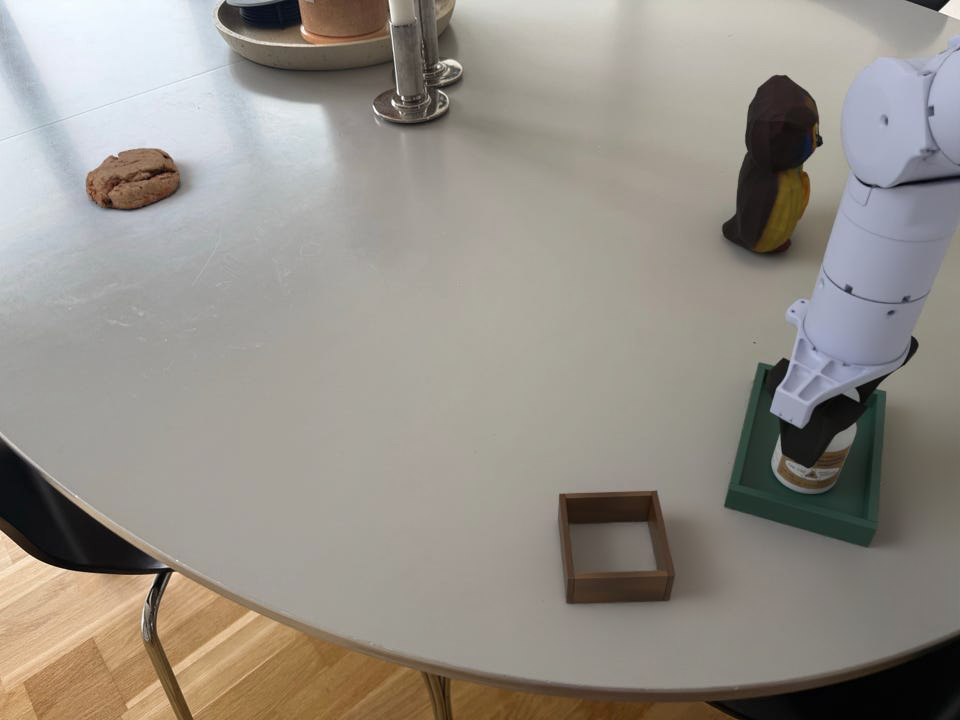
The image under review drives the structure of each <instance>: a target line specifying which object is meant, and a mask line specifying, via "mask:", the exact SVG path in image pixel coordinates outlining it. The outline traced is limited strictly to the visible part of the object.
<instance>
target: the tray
mask: <svg viewBox="0 0 960 720" xmlns="http://www.w3.org/2000/svg"><path fill="white" fill-rule="evenodd" d="M774 366H775V365H773V364H770V363H769V364H768V363H765V362H761V361H759V362H758V363H757V367H756V371H755V374H754V379H753V382H752V387H751V390H750V394H749V399H748V404H747V407H746V412H745V416H744V420H743V424H742V428H741V433H740V437H739V440H738V445H737V449H736V453H735V457H734V462H733V466H732V470H731V475H730V478H729V483H728V487H727V492H726V496H725V499H724V504H723V507H724V508H727V509H730V510H734V511H738V512H742V513H745V514H748V515H752V516H756V517H759V518H763V519H765V520H769V521H773V522H776V523H780V524H783V525H787V526H791V527H794V528H798V529H801V530H805V531H808V532H812V533H815V534H819V535H822V536H826V537H829V538H833V539H837V540H839V541H843V542H846V543H851V544H854V545H858V546H861V547H864V548H869V546H870V544H871V542H872V540H873V539H874V537H875V534H876V532H877V531H878V521H879V508H880V507H879V505H880V492H881V480H882V479H881V478H882V465H883V464H882V463H883V447H884V435H885V433H884V432H885V421H886V420H885V419H886V408H887V407H886V405H887V390H884V389H883V390H882V389H878V388H876V390H875V391H874V392H873V394H872V395H871V397H870V398H869V399H868V401H867V402H866V404H865V405H866V406H868V407H869V408H868V409H867V410H866V411H865V412H864V414H863V415H862V416H861V417H860V418H859V419H858V420H857V421H856V427H857V429H856V435H855V437H854V440H853V443H852V445H851V447H850V450H849V452H848V455H847V457H846V459H845V462H844V464H843V467H842V469H841V471H840V474H839V476H838V478H837V480H836V483H835V484H834V486H833V487H832V488H830V489H829V490H827V491H825V492H823V493H819V494H804V493H800V492H796V491H793V490H791V489H790V488H788V487H786V486H785V485H784V484H782V483H781V482H780V481H779V480H778V479H777V477H776V476H775V474H774V472H773V470H772V465H771V461H772V457H773V454H774V450H775V447H776V444H777V441H778V438H779V435H780V424H779V417H778V416H777V415H775V414H773V413H771V412H770V409H771V405H772V402H773V400H772V398H771V396H770V394H769V393H768V391H767V389H766V380H767V377H768V373H769V371H770V370H771V369H772V368H773V367H774Z"/></svg>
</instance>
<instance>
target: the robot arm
mask: <svg viewBox="0 0 960 720" xmlns="http://www.w3.org/2000/svg"><path fill="white" fill-rule="evenodd" d="M840 115H841V116H840V139H841V140H840V141H841V147H842V151H843V154H844V158H845V161H846V163H847V165H848V167H849V168H850V169H849V172H848V176H847V179H846V182H845V186H844V189H843V193H842V195H841V199H840V203H839V206H838V209H837V212H836V216H835V219H834V222H833V225H832V229H831V231H830V235H829V238H828V241H827V245H826V248H825V252H824V255H823V258H822V262H821V265H820V268H819V272H818V274H817V278H816V281H815V285H814V288H813V292H812V295H811V298H810V300H809V299H806V298H799V299H796V300H795V302H793V303H792V304H791V305H790V306H789V307H788V308H787V309H786V312H785V315H784V320H785V321H786V322H787V323H788V324H790V325H792V326H794V327H795V328H796V330H797V332H796V336H795V340H794V344H793V348H792V352H791V355H790V359H788V358H786V357H782V358H781V359H779V361H778V362H777V363H776V364H775V365H774V367H773V368H772V369H771V370H770V371H769V373H768V377H767V380H766V389H767V391H768V393H769V394H770V396H771V398H772V400H773V402H772V405H771V409H770V412H771V413H773V414H775V415H777V416H778V417H779V424H780V442H781V452H782V454H783V455H784V456H786V457H788V458H790V459H792V460H793V461H795V462H797V463H799V464H800V465H802V466H804V467H806V468H811V467H812V466H813V465H814V464H815V463H816V462H817V461H818V459H819V458H820V457H821V456H822V455H823V453H824V452H825V450H826V449H827V447H828V446H829V444H830V443H831V441H832V440H833V438H834V437H835V435H837V434H838V433H840V432H842V431H844V430H846V429H848V428H849V427H850V426H852V425H853V424H854V423H855V422H856V421H857V420H858V419H859V418H860V417H861V416H862V415H863V414H864V412H865V411H866V410H867V409H868V408H869V407H868V406H866V405H865V404H866V402H867V401H868V399H869V398H870V397H871V395H872V394H873V392H874V391H875V390H876V389H878V387H879V386H880V384H882V382H883V381H884V380H886V379H887V378H888V377H889V376H890V375H892V374H893V373H894V372H896V371H898V370H899V369H901V368H902V367H905V366H906V365H907V364H908V362H910V360H911V359H912V358H913V356H915V354H916V353H917V351H918V349H919V347H920V345H919V341H918V340H917V338H916V337H915V336H913V333H914V330H915V328H916V326H917V323H918V320H919V318H920V316H921V314H922V312H923V309H924V307H925V305H926V302H927V300H928V298H929V295H930V293H931V290H932V287H933V285H934V283H935V280H936V278H937V276H938V273H939V271H940V269H941V266H942V264H943V262H944V259H945V257H946V255H947V252H948V250H949V248H950V245H951V243H952V241H953V238H954V236H955V233H956V231H957V229H958V227H959V225H960V33H958V34H954V35H952V36H951V37H950V38H949V39H948V42H947V49H945V50H943V51H941V52H940V53H938V54H935V55H927V56H918V57H910V58H909V57H908V58H901V57H896V56H879V57H876V58H875V59H874V60H873V62H871V64H869V65H867V66H866V67H864V68H863V69H861V70H860V71H859V72H858V73H857V74H856V76H854V79H853V80H852V81H851V83H850V84H849V87H848V89H847V91H846V94H845V97H844V100H843V104H842V109H841V113H840ZM853 388H855V389H856V390H857V392H858V394H859V402H858V401H856V400H854V399H852V398H850V397H848V396H846V395H844V394H842V393H843V392H846V391H848V390H850V389H853Z"/></svg>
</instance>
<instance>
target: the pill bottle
mask: <svg viewBox="0 0 960 720" xmlns="http://www.w3.org/2000/svg"><path fill="white" fill-rule="evenodd" d="M842 394H844V395H846V396H848V397H850V398H852V399H854V400H856V401H858V402H859V394H858V392H857V390H856V389H855V388H853V389H850V390H848V391H846V392H843V393H842ZM856 429H857V427H856V422H855V423H854V424H853V425H852V426H850V427H849V428H848V429H846V430H844V431H842V432H840V433H838V434H837V435H835V437H834V438H833V440H832V441H831V443H830V444H829V446H828V447H827V449H826V450H825V452H824V453H823V455H822V456H821V457H820V458H819V459H818V461H817V462H816V463H815V464H814V465H813V466H812V467H811V468H806V467H804V466H802V465H800V464H799V463H797V462H795V461H793V460H792V459H790V458H788V457H786V456H784V455H783V454H782V452H781V442H780V435H779V438H778V441H777V444H776V447H775V450H774V454H773V457H772V461H771V465H772V470H773V472H774V474H775V476H776V477H777V479H778V480H779V481H780V482H781V483H782V484H784V485H785V486H786V487H788V488H790V489H791V490H793V491H796V492H800V493H804V494H819V493H823V492H825V491H827V490H829V489H830V488H832V487H833V486H834V484H835V483H836V480H837V478H838V476H839V474H840V471H841V469H842V467H843V464H844V462H845V459H846V457H847V455H848V452H849V450H850V447H851V445H852V443H853V440H854V437H855V435H856Z"/></svg>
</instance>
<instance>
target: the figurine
mask: <svg viewBox="0 0 960 720" xmlns="http://www.w3.org/2000/svg"><path fill="white" fill-rule="evenodd" d="M747 109H748V110H747V113H746V128H745V134H744V144H745V148H746V153H745V154H744V157H743V159H742V163H741V166H740V169H739V171H738V178H737V187H736V197H735V198H736V199H735V205H736V206H735V214H733V215H732V216H731V218H729V219H728V220H727V221H725V222H724V223H722V226H721V232H722V234H723V238H725V239H726V240H727V241H730V242H731V243H733V244H736V245H738V246H741V247H742V248H744V249H746V250H749V251H752V252H756V253H782V252H786V251H787V250H789V248H791V246H792V241H791V239H790V238H791V236H792V235H793V234H794V232H795V229H796V227H797V225H798V222H799V221H800V220H801V219H802V218H803V216H804V213H805V211H806V209H807V207H808V205H809V202H810V198H811V197H810V196H811V180H810V179H811V178H810V176H809V174H808V172H807V171H804V163H805V162H807V160H808V159H810V158H811V157H812V155H814V153H815V151H816V149H817V148H820V147H822V146H823V144H824V140H823V136H821V135H820V114H819V110H818V106H817V102H816V100H815V99H814V98H813V96H812V95H811V94H810V93H809V91H808V90H806V89H805V88H804V87H802V86H801V85H799V84H798V83H796V82H795V80H793V79H792V78H791V77H789V76H788V75H787V74H774V75H772V76H771V77H769V78H768V79H767V80H766V81H764V82H763V83H762V84H761V85H759V86H758V88H757V89H756V92H755V95H754V97H753V98H752V99H751V102H750V103H749V104H748V108H747Z"/></svg>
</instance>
